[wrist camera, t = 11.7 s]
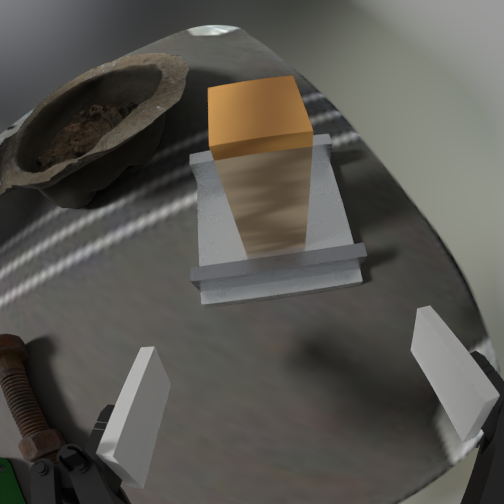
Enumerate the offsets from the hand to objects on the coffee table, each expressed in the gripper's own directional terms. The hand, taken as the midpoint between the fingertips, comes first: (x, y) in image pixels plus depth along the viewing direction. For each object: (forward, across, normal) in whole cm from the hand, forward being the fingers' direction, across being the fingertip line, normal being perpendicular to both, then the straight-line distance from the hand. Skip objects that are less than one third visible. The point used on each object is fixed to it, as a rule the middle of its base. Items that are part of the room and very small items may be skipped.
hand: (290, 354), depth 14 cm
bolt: (+2, -24, -9) cm, 25 cm away
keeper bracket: (+13, 0, +2) cm, 13 cm away
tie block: (+12, 0, +3) cm, 12 cm away
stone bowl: (+24, -18, +13) cm, 33 cm away
